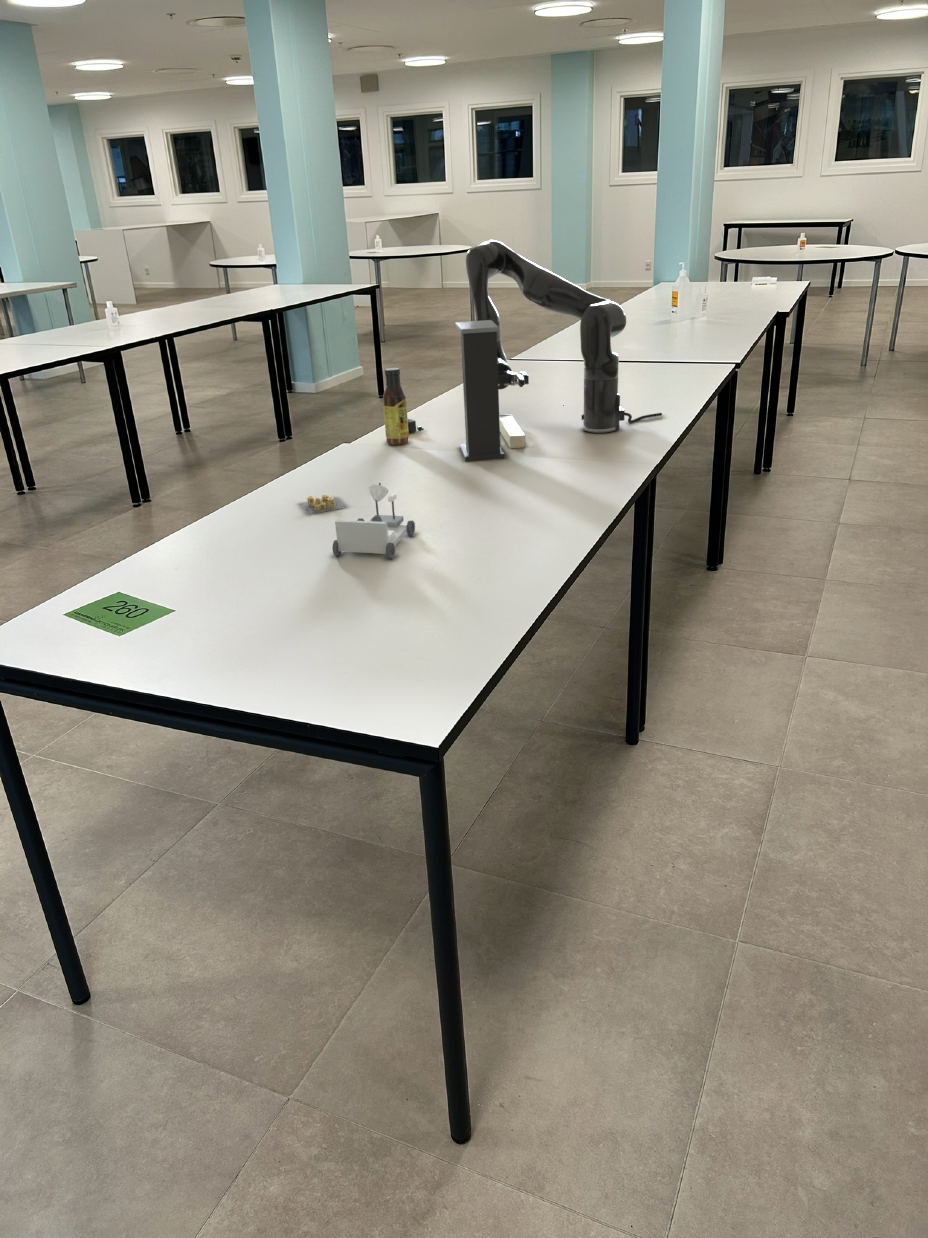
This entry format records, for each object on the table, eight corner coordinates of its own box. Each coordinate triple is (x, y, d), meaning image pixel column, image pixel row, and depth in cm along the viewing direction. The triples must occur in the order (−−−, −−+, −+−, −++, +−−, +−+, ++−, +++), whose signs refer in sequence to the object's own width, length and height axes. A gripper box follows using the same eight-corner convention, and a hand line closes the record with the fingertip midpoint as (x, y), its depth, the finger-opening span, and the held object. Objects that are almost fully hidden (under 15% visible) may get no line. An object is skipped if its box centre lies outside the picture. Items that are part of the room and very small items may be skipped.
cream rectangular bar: (511, 425, 257) (511, 413, 256) (525, 447, 236) (525, 434, 234) (497, 426, 257) (496, 414, 256) (509, 448, 235) (509, 435, 234)
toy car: (361, 479, 182) (416, 481, 179) (366, 525, 186) (419, 528, 183) (327, 508, 167) (385, 511, 164) (333, 557, 171) (390, 561, 168)
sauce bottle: (405, 446, 242) (400, 371, 234) (383, 445, 244) (377, 371, 235) (412, 439, 248) (406, 366, 240) (390, 439, 249) (384, 366, 241)
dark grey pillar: (497, 445, 238) (493, 319, 225) (504, 458, 227) (500, 326, 213) (459, 448, 238) (453, 322, 224) (465, 461, 226) (458, 329, 212)
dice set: (307, 505, 201) (306, 496, 200) (329, 501, 202) (328, 492, 202) (313, 511, 196) (312, 502, 196) (335, 507, 198) (334, 499, 197)
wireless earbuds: (411, 434, 254) (410, 423, 252) (396, 430, 259) (395, 419, 257) (424, 431, 256) (423, 419, 255) (409, 427, 261) (409, 416, 260)
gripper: (472, 361, 258) (480, 372, 244) (521, 358, 259) (531, 368, 245) (473, 388, 261) (481, 399, 247) (522, 384, 263) (532, 396, 248)
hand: (506, 384), depth 246 cm, fingers open, 8 cm apart
